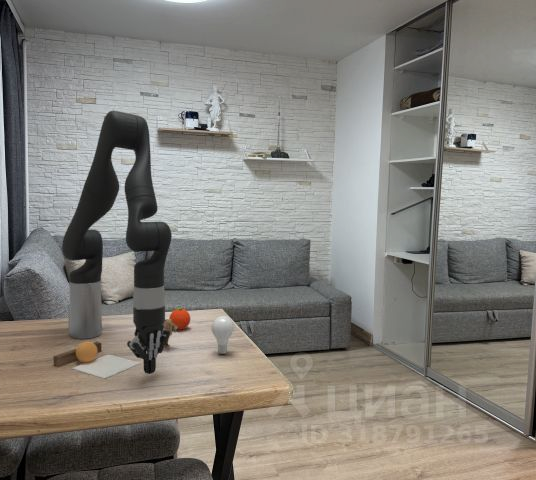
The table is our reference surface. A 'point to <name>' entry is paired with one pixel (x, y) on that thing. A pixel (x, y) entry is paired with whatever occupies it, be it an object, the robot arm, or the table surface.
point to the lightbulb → (222, 332)
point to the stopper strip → (70, 356)
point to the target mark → (106, 366)
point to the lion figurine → (169, 328)
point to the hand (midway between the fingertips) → (149, 372)
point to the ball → (86, 351)
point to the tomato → (180, 318)
